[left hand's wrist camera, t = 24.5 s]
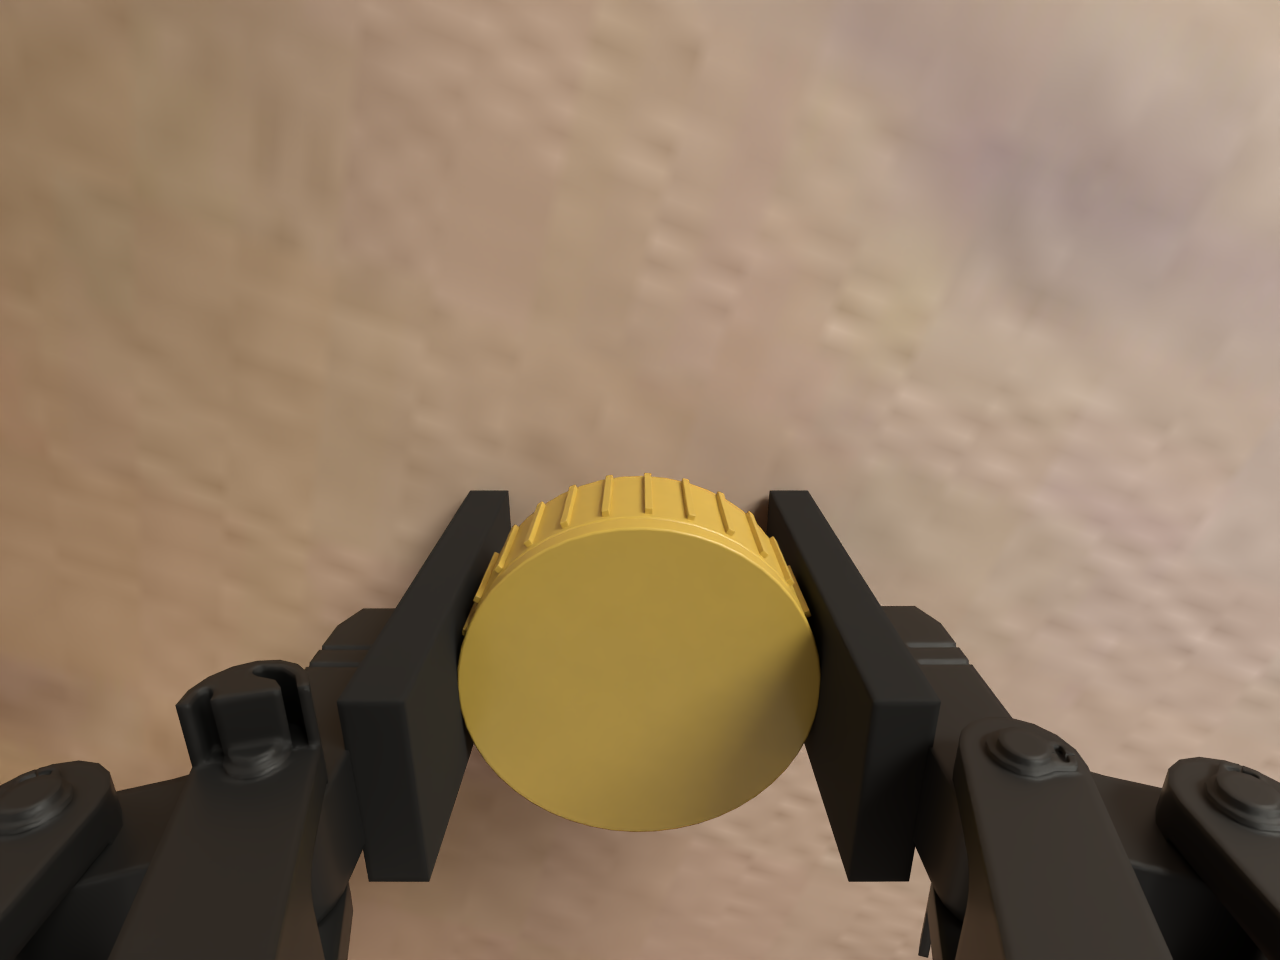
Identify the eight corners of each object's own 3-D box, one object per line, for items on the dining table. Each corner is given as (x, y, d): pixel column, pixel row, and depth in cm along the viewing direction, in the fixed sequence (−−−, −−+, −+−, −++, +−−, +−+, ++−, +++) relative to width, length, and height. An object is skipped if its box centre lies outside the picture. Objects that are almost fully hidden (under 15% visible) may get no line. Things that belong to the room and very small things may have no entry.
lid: (497, 446, 11) (466, 494, 9) (831, 498, 11) (871, 554, 9) (469, 724, 13) (439, 812, 11) (758, 763, 13) (778, 856, 11)
